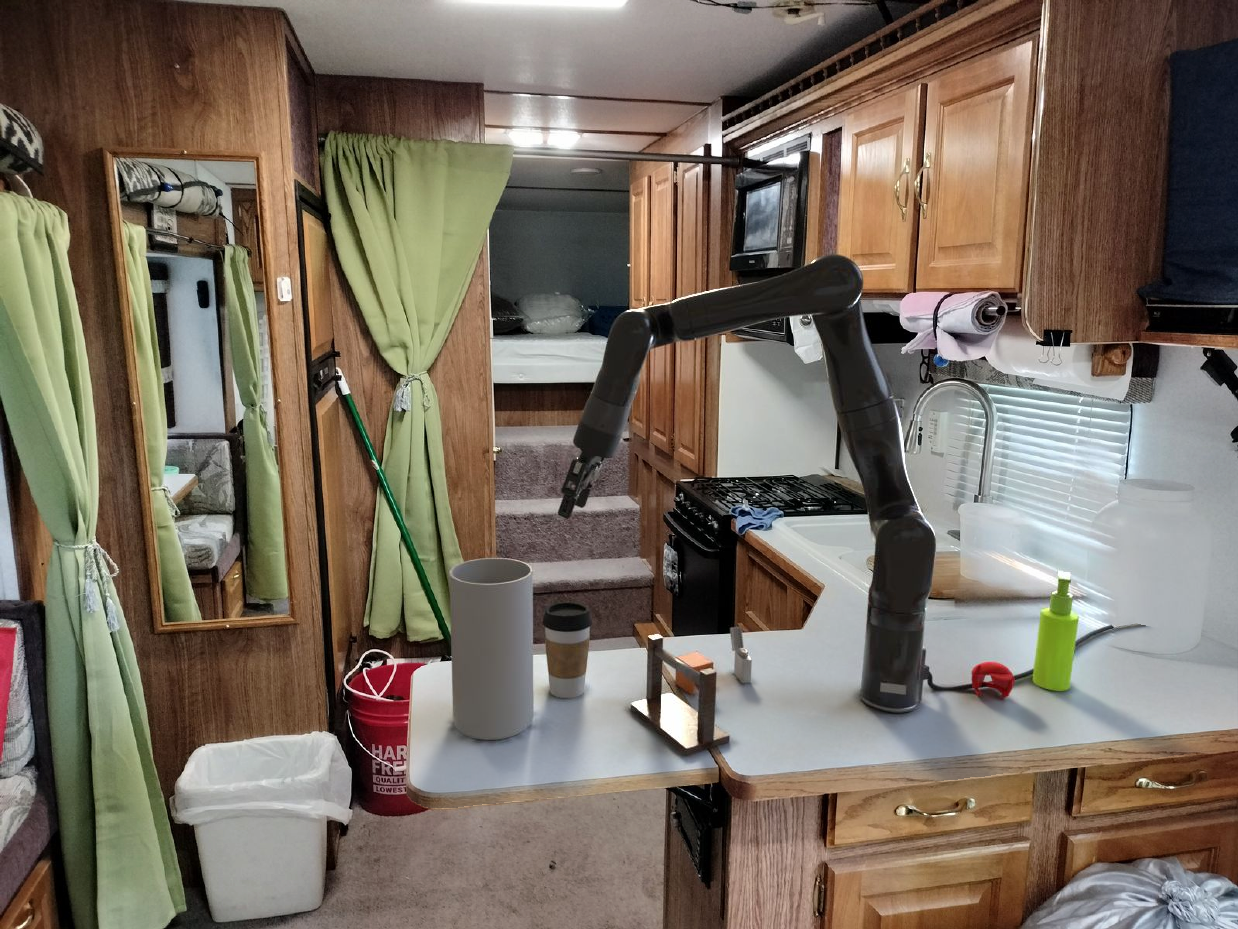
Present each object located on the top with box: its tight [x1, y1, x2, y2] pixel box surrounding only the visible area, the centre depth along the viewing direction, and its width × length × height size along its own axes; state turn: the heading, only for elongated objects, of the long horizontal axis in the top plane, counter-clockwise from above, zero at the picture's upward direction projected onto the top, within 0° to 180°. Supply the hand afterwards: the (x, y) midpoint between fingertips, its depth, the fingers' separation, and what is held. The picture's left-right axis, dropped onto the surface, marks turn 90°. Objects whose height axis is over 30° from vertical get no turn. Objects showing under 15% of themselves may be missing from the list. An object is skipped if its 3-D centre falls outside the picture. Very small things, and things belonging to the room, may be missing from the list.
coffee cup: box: [541, 601, 593, 699], centre depth 143 cm, size 8×8×15 cm
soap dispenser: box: [1032, 570, 1080, 692], centre depth 149 cm, size 6×7×20 cm
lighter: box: [729, 626, 753, 684], centre depth 151 cm, size 7×2×8 cm, turn 12°
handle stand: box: [630, 633, 731, 757], centre depth 132 cm, size 8×16×12 cm, turn 30°
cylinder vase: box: [449, 557, 534, 741], centre depth 131 cm, size 12×12×25 cm
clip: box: [674, 651, 714, 696], centre depth 146 cm, size 4×5×5 cm
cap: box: [971, 661, 1015, 700], centre depth 145 cm, size 8×6×6 cm
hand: (571, 511), depth 146 cm, fingers open, 8 cm apart
